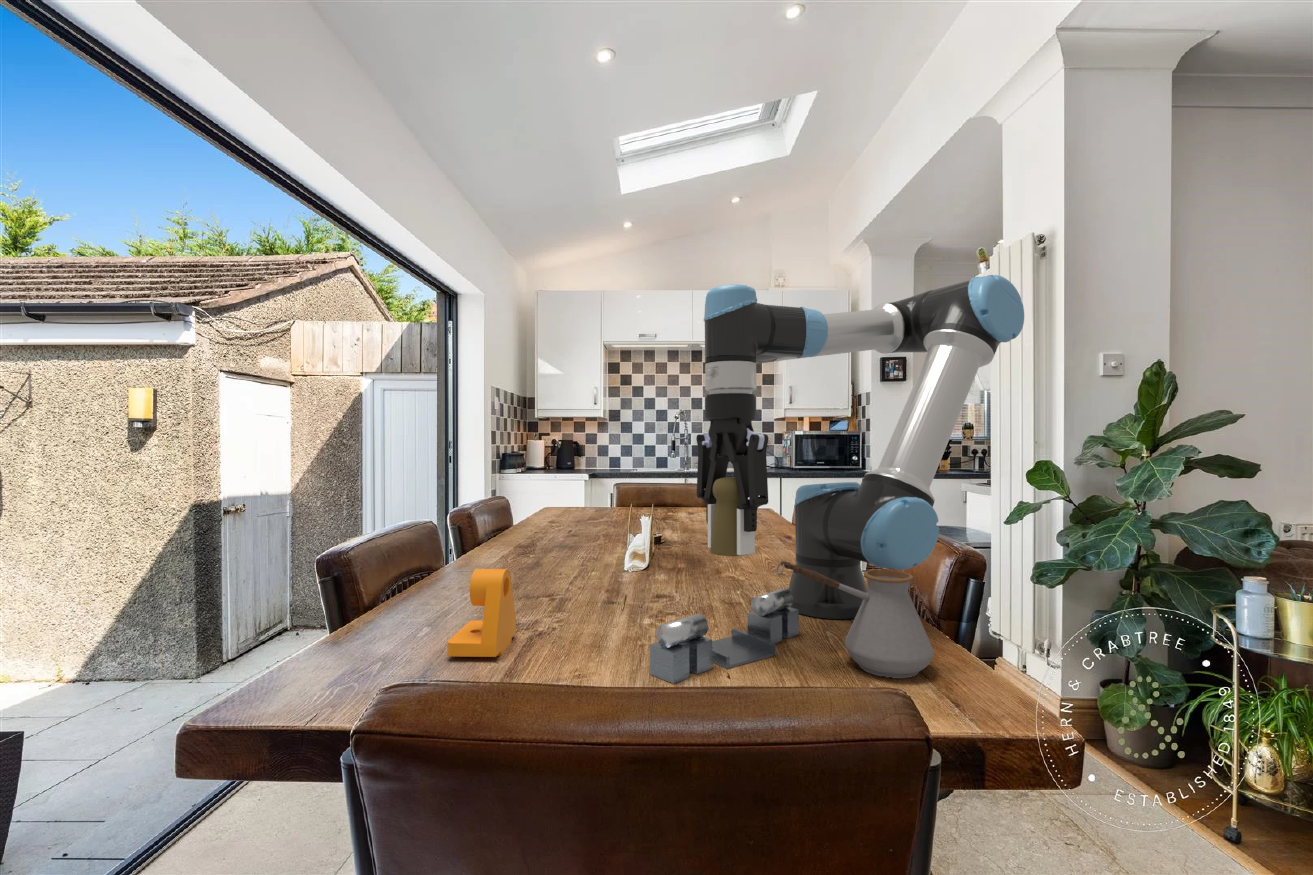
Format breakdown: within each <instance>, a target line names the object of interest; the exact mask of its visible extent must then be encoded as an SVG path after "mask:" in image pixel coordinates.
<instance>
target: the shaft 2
mask: <svg viewBox="0 0 1313 875" xmlns="http://www.w3.org/2000/svg"><path fill="white" fill-rule="evenodd" d="M787 589H788V588H780V589H777V590H774V591H771V592H768V593H764V594H760V595H757V596H754V597H753V598H752V599H751V600H750V601H751V602H750V607H751V610H752V611H750V612H747V633H748V634H751V635H753V636H756V637H758V638H761V639H763V640H766V641H768V642H771V643H773V644H777V643H780V642H782V641H783V638H784V639H790V638H793V637H795V636H798V635H799V629H800V628H799V621H800V620H799V617H800V616H799V614H800V613H799V609H795V608H790V606H791V605H792V603H793V596H792V594H791V592H790V591H789V590H787Z"/></svg>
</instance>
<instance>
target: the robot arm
mask: <svg viewBox="0 0 1313 875" xmlns="http://www.w3.org/2000/svg"><path fill="white" fill-rule="evenodd" d="M704 302H705V304H704V313H703V314H704V316H703V322H704V364H705V366H704V371H705V372H704V375H705V376H704V377H705V378H704V390H705V391H706V392H708V393H709V394H706V395H705V397H704V418H705V419H706V420H709V422H710V423H709V428H708V432H707V433H704V434H697V435H696V444H697V471H696V472H697V475H696V476H697V478H696V497H697V498H698V499H702V500H703V502H704V504H705V506H706V507H705V508H706V509H705V510H706V511H705V512H706V513H705V514H706V516H705V517H706V518H705V520H706V524H707V548H709V549H710V548H711V540H712V532H713V525H714V517H715V509H716V501H717V500H716V498H715V497H714V494H713V484H714V482H715V481H716V480H717V479H720V478H724V477H727V472H728V469H729V468H728V467H729V463H731V464H732V469H733V473H734V477H735V479H736V484H737V488H738V493H739V498H740V503H741V505H739V506H737V508H738V509H737V555H740V556H739V557H742V556H741V555H744V556H749V555H753V554H755V552H756V546H755V545H756V543H755V542H756V541H755V540H756V533H755V532H757V530H758V509H759V507H761V506H765V505H768V504H769V485H768V482H769V481H768V464H767V463H768V462H767V450H768V444H769V435H768V434H765V433H763V434H762V433H757V432H755V431H754V430H755V429H754V428H753V425H752V424H753V423H752V421H753V420H755V419H756V417H757V396H756V395H755V394H753V392H754V391H756V390H757V388H758V387H757V365H758V364H759V365H760V364H767V363H772V362H779V361H788V360H798V359H805V358H813V357H815V358H816V357H823V356H830V355H831V356H832V355H840V354H850V353H857V352H865V351H874V350H875V351H876V352H877V353H880V354H893V353H894V354H895V353H927V354H926V355H925V356H926V357H925V358H924V360H923V363H922V365H921V368H920V370H919V372H918V375H917V376H916V379H915V381H914V384H913V386H912V389H911V390H910V393H909V395H908V398H907V400H906V402H905V404H904V407H903V410H902V411H901V414H900V416H899V419H898V421H897V423H896V426H895V428H894V430H893V432H892V434H891V435H892V436H891V437H890V439H889V442H888V444H887V446H886V449H885V450H884V453H883V456H882V458H881V460H880V463H879V465H878V467H877V469H874V470H870V471H868V472H866V473H865V474H864V476H863V478H862V481H861V482H860V483H859V482H856V481H851V482H850V481H849V482H848V481H847V482H845V481H843V482H842V481H841V482H831V483H830V482H828V483H815V484H803V485H800V486H799V487H798V488H797V490H796V491H795V497H794V498H795V499H794V500H795V501H794V512H795V513H794V517H795V518H794V525H795V527H794V531H795V533H794V536H795V537H794V539H795V540H794V541H795V543H794V545H795V565H799V566H800V567H801V568H804V569H808V570H812V571H815V572H818V573H820V574H822V575H824V576H826V577H828V578H831V579H833V580H835V581H837V582H839V583H840V584H843V585H846V586H849V587H851V588H854V589H857V590H859V591H862V592H865V593H867V590H868V588H867V585H866V584H867V583H866V581H865V577H864V573H863V571H862V566H861V563H862V562H863V563H866V564H871V565H873V566H875V567H877V568H879V569H880V568H882V569H890V570H895V571H903V570H909V569H911V568H914V567H916V566H918V565H921V564H922V563H923V562H924V561H925V560H927V558H928V557H929V556H930V555H931V553H932V552H933V550H934V548H936V544H937V542H938V540H939V536H940V534H939V533H940V527H939V525H937V524H938V523H939V516H938V514H937V512H936V510H935V508H934V504H935V501H936V500H935V499H936V498H935V497H934V496H933V493H932V491H931V490H930V487H931V485H932V482H933V481H934V478H935V475H936V473H937V470H938V469H939V468H938V467H939V466H940V463H941V461H942V458H943V455H944V453H945V450H946V449H947V446H948V443H949V441H950V439H951V436H952V434H953V432H954V429H955V427H956V425H957V422H958V419H959V416H960V415H961V412H962V410H963V407H964V405H965V402H966V400H967V399H968V398H967V397H968V396H969V393H970V390H971V388H972V385H973V382H974V381H975V378H976V375H977V374H978V370H979V368H981V367H984V366H987V365H989V364H991V362H992V361H993V360H994V357H995V354H996V352H997V350H998V347H999V345H1000V344H1001V343H1009V342H1010V341H1011V340H1013V339H1014V340H1015V339H1016V338H1017V337H1018V336H1019V335H1020V334H1021V332H1022V329H1023V327H1024V323H1025V308H1024V303H1023V301H1022V298H1021V296H1020V293H1019V291H1018V290H1017V288H1016V287H1015V284H1013V282H1011V281H1010V280H1008V278H1006V277H1004V276H1001V275H999V274H989V275H983V276H975V277H972V278H971V279H970V280H966V281H962V282H958V283H955V284H950V285H947V286H943V287H939V288H936V289H932V290H927V291H925V292H922V293H918V294H916V295H912V296H909V297H907V298H904V299H900V300H897V301H892V302H886V303H885V302H884V303H880V304H877V305H876V306H874V307H873V309H865V310H856V311H846V312H845V311H843V312H842V311H841V312H833V313H831V312H830V313H822V312H821V311H819V310H818V309H817V310H816V309H812V308H808V307H804V306H800V307H797V306H796V307H795V306H784V305H776V304H775V305H772V304H764V303H760V302H758V298H757V292H756V290H755V288H754V287H752V286H748V285H747V284H746V285H745V284H735V283H733V284H723V285H717V286H715V287H712V288H711V289H709V290H708V292H707V293H706V296H705V301H704ZM748 554H749V555H748ZM786 589H787V590H789V591H790V592H791V594H792V596H793V603H792V605H791V606H790V608H795V609H799V614H801V615H804V616H808V617H813V618H822V619H831V620H833V619H834V620H846V619H847V620H848V619H849V620H850V619H855V617H856V615H857V612H858V610H859V608H860V606H861V604H862V601H863V599H862V598H859V597H857V596H855V595H852V594H850V593H848V592H845V591H843V590H841V589H838V588H834V587H831V586H828V585H825V584H822V583H819V582H816V581H813V580H810V579H809V578H807V577H805V576H804V575H802V574H800V573H794V571H793V570H792V574H791V578H790V581H789V586H788V588H786Z"/></svg>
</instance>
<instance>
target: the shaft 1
mask: <svg viewBox="0 0 1313 875" xmlns="http://www.w3.org/2000/svg"><path fill="white" fill-rule="evenodd" d="M708 631H709V622H708V621H707V618H706V617H705V616H704V615H703V614H701V613H697V614H694V615H690V616H687V617H683V618H680V619H676V620H673V621H670V622H666V623H663V624H659V626H658V627H657V628H656V631H655V634H656V639H657V642H654V643H653V642H652V643H650V644H649V674H650V675H651V676H654V677H655V678H658V679H661V680H663V681H665V682H667V681H668V682H667V683H670V682H671V683H670V684H672V683H674V684H677V683H679V681H680V682H682V681H684V680H686V679H690V673H692V674H695V675H700V674H701V673H704V672H707V671H709V670H712V669H713V662H712V641H713V639H711V638H709V637H707V636H706V635H707V634H708ZM705 636H706V637H705ZM676 682H677V683H676Z"/></svg>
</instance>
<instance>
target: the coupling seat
mask: <svg viewBox="0 0 1313 875" xmlns="http://www.w3.org/2000/svg"><path fill="white" fill-rule="evenodd" d="M776 644H777V643H776ZM776 644H773V643H771V642H768V641H766V640H763V639H761V638H758V637H756V636H753V635H751V634H748V632H746V631H744V630H741V629H739V628H736V627H733V628H732V629H731V636H728V637H723V638H720V639H715V640H712V663H714V664H715V665H718V666H720V667H722V668H724V669H725V670H728V669H731V668H735V667H738V666H743V665H746V664H749V663H753V662H757V661H760V660H764V659H768V658H772V657H776V653H777V652H776V650H777V649H776Z"/></svg>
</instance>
